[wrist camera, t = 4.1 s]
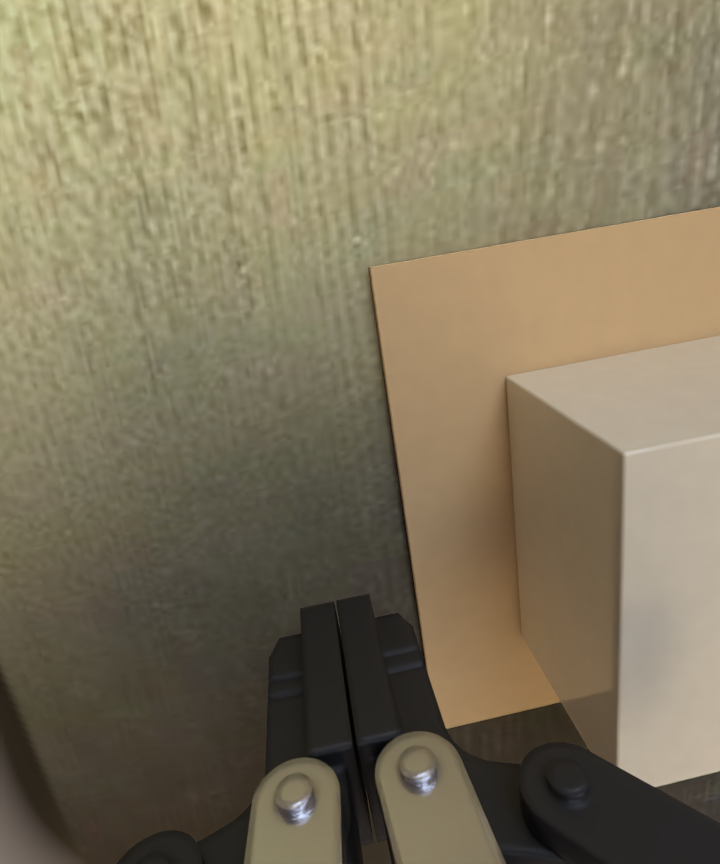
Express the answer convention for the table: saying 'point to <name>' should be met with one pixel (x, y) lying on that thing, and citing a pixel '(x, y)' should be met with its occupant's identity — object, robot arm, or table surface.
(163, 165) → the table surface
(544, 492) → the cream cardboard carton
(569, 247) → the runner
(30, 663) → the table surface
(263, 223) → the table surface
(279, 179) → the table surface
